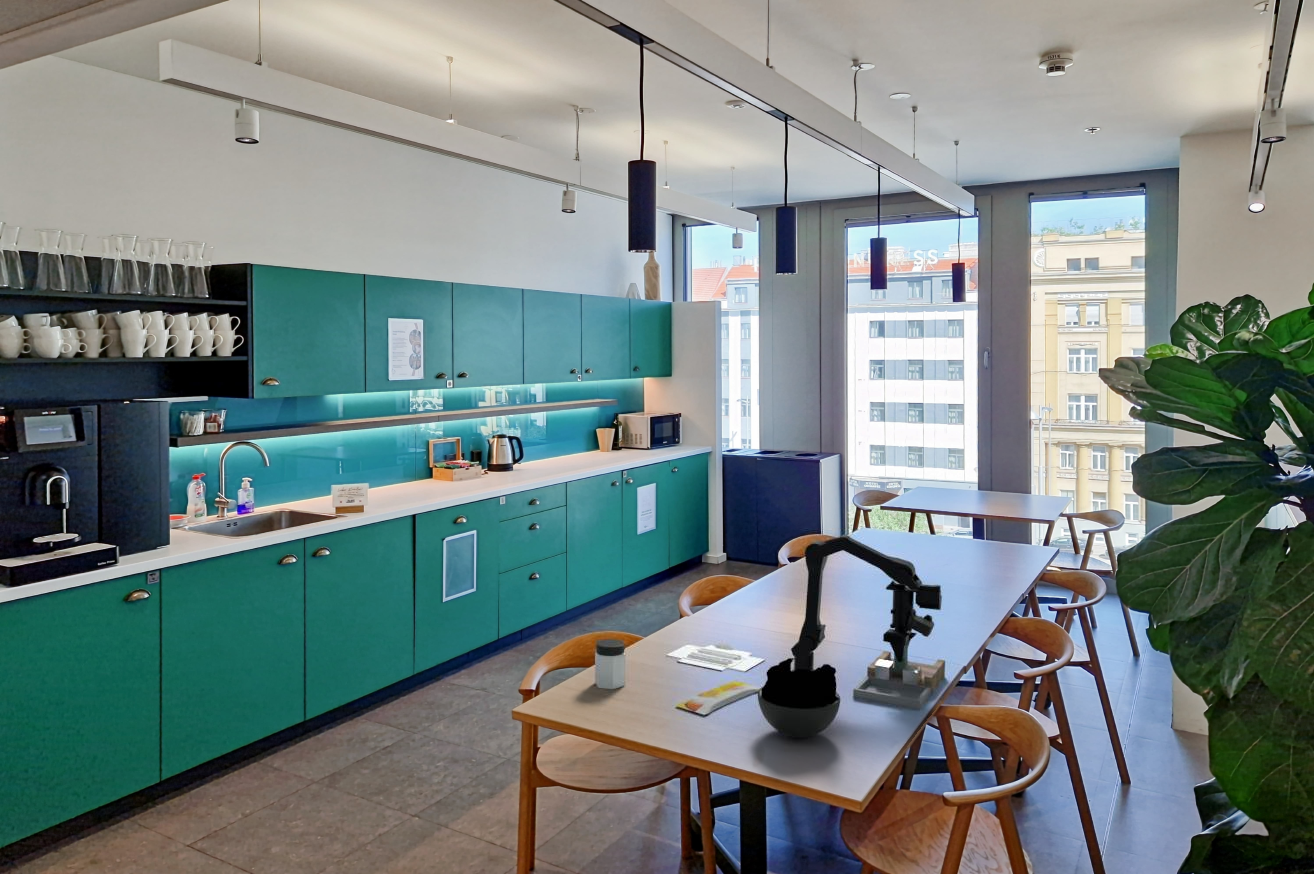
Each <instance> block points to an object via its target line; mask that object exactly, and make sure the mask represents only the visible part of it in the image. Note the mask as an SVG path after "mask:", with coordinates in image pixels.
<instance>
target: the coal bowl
mask: <svg viewBox="0 0 1314 874" xmlns="http://www.w3.org/2000/svg"><path fill="white" fill-rule="evenodd" d="M792 662H794V657H793V658H792V657H789V658H787V659H785V660H782V661H781V662H780V661H779V663H778V664H776V665H773V666H771V667H769V669H768V670H767V671H766V678H767V679H766V681H765V684H764V685H763V686H762V687H761V688H760V689H759V691H758V692H757V701H758V706H759V708H760V711H761V713H762V715H763V717H764V719H765V720H766V721H767V723H769V725H770V726H771V727H772V728H773V729H775V730H776V731H778V732H779V733H781V734H782V735H785V736H788V737H790V738H791V737H792V738H795V739H796V738H797V739H802V738H803V739H805V738H809V737H813V736H816V735H819V734H820V733H822V732H823V731H825V730H826V729H827V728H829V726H831V724H832V723H833V722H834V720H835V719H836V716H837V714H838V712H839V709H840V706H841V696H840V695H839V693H838V692H837V678H836V672H837V669H836V668H835V667H833V666H832V665H831V664H829V663H824V664H822V666H819V667H817V668H816V669H814V671H810V670H806V669H797V670H795V671H792Z"/></svg>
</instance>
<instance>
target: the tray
mask: <svg viewBox="0 0 1314 874" xmlns="http://www.w3.org/2000/svg"><path fill="white" fill-rule="evenodd" d="M752 655H753V653H752V652H747V651H742V650H737V649H735V647H734V646H731V644H729V643H726V642H723V641H719V640H717V641H716V642H714V645H711V644H710V645H707V646H705V647H702V646H697V645H692V644H687V645H684V646H682V647H680V648H678V649H675V650H673V651H671V652H669V653H668V654H665V656H666V657H669V658H674V659H679V660H677V661H676V662H677V663H678V662H680V663H684V664H688V665H695V666H698V667H705V668H709V669H714V670H718V671H721V672H724V671H725V670H733V671H738V672H741V673H746V671H748V670H749V669H752V667H755V666H756V665H758V664H760V663H762V662H763V661H766V659H763V658H760V657H759V658H758V657H754V655H753V656H752Z"/></svg>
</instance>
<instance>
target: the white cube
mask: <svg viewBox="0 0 1314 874" xmlns="http://www.w3.org/2000/svg"><path fill="white" fill-rule="evenodd" d="M892 676H893V662H892V661H886V660H880V659H879V661H878V662H877V663H876V664H875V678H878V679H884V680H890V679H891V677H892Z"/></svg>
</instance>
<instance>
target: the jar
mask: <svg viewBox="0 0 1314 874" xmlns="http://www.w3.org/2000/svg"><path fill="white" fill-rule="evenodd" d="M625 648H626V647H625V642H624V641H623V640H620V639H616V638H615V639H614V638H608V639H607V638H606V639H600V640H598V641H596V643H595V651H594V662H595V663H594V683H595V685H596V686H597V688H598V689H603V690H604V689H605V690H616V689H619V688H622V687H625V686H626V653H625V651H626V649H625Z"/></svg>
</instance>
